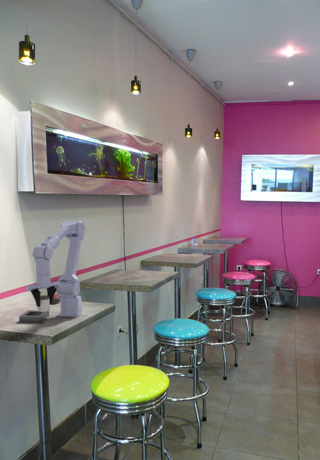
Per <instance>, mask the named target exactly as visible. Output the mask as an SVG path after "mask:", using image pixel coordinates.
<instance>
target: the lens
mask: <svg viewBox="0 0 320 460" xmlns="http://www.w3.org/2000/svg"><path fill="white" fill-rule="evenodd" d="M50 306H51V305H50V296H48V294H44V295H40V307H38V311H39V312H47V311H49V312H50V311H51V310H50V309H51V307H50Z"/></svg>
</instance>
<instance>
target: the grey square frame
mask: <svg viewBox="0 0 320 460" xmlns="http://www.w3.org/2000/svg"><path fill="white" fill-rule="evenodd" d="M49 317H50V311H47V312H39V310H32V309H31V310H26V311H24V313H22V314H21V315H20V316H19V317H18V322H19V323H31V324H32V323H34V324H37V323H43V322H44V321H45V320H46V319H48V318H49Z"/></svg>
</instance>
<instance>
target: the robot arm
mask: <svg viewBox="0 0 320 460" xmlns="http://www.w3.org/2000/svg"><path fill="white" fill-rule="evenodd" d="M85 230H86V226H85V223H84V222H83V220H62V222H60V226H59V229H58V230H57V231H56V232H55V233H54V235H53V234H52V235H48V237H47V238H46V239H45V240H44V241H42V243H41V244H40V245H36V246H35V247H33V252H32V257H33V259H34V262H35V269H36V270H35V271H36V272H35V275H36V277H35V278H36V280H35V281H36V283H35V284H31V285H30V284H29V285H26V287H25V291H26V292H30V293H31V295H32V296H33V298H34V302H35V306H36V307H37V308H39V307H40V296H41V294H42V291H40V290H44V289H46V293H47V294H46V295H48V296H50V306H52V305H53V304H52V300H53V297H54V294H55V293H57V294H59V296H60V302H59V304H60V309H59V310H60V312H59V313H58V314H57V317H66V318H69V317H71V318H72V317H73V318H78V317H79V316H80V315H81V314H82V313H83V310H82V306H83V305H82V304H83V303H82V297H81V295H78V294H79V293H80V290H81V284H80V282H81V280H80V279H79V278H78V276H77V275H76V274H77V269H78V263H79V259H80V251H81V248H82V247H81V245H82V240H84V236H85V232H86V231H85ZM64 238H66V239H67V240H68V241H69V246H68V252H67V257H66V263H65V268H64V273H63V274H62V275H61V276H60V277H58V281H51V259H52V257H53V255H54V252H55V250H56V249H57V248H58V247H59V246H60V244H61V241H62V240H63V239H64Z"/></svg>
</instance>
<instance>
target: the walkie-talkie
mask: <svg viewBox="0 0 320 460" xmlns="http://www.w3.org/2000/svg"><path fill="white" fill-rule="evenodd" d="M58 304H60V296H59V294H58V293H57V292H55V294H54V297H53V300H52V305H58Z"/></svg>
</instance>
